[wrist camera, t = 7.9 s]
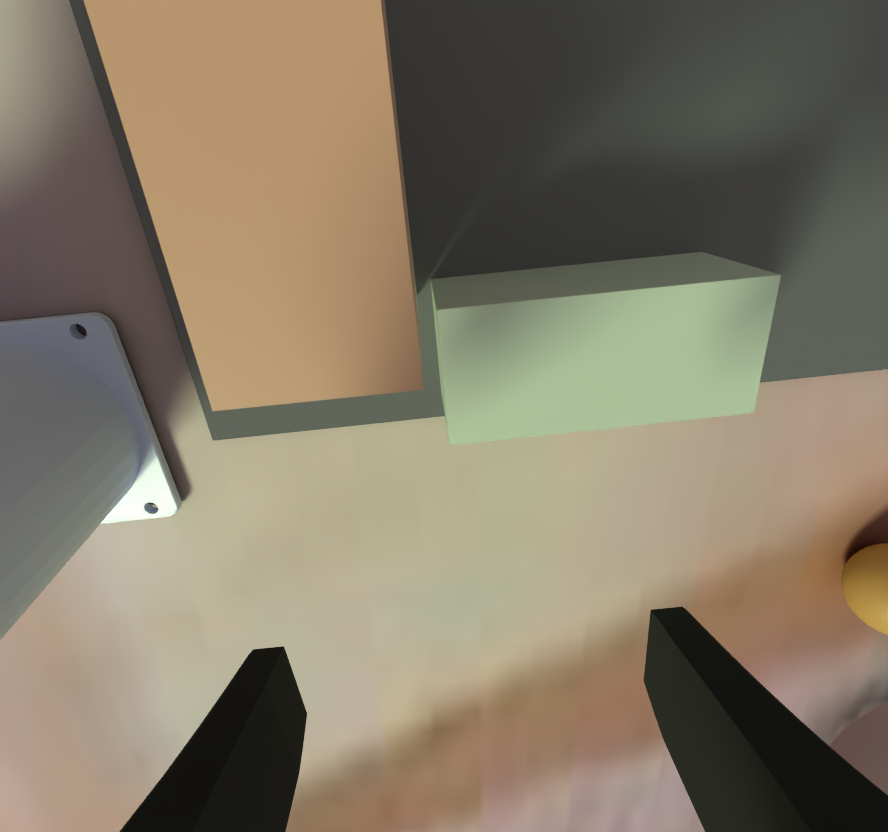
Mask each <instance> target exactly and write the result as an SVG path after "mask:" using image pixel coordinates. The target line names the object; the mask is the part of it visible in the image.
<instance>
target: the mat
mask: <svg viewBox="0 0 888 832" xmlns="http://www.w3.org/2000/svg"><path fill="white" fill-rule="evenodd" d="M69 1H70V4H71V7H72V10H73V13H74V16H75V19H76V23H77V26H78V29H79V32H80V35H81V38H82V41H83V44H84V47H85V50H86V53H87V56H88V59H89V62H90V65H91V68H92V72H93V75H94V78H95V81H96V84H97V87H98V90H99V93H100V96H101V99H102V102H103V105H104V108H105V111H106V114H107V117H108V121H109V124H110V127H111V130H112V133H113V136H114V139H115V142H116V145H117V148H118V151H119V154H120V157H121V160H122V163H123V167H124V170H125V173H126V176H127V179H128V182H129V185H130V188H131V191H132V194H133V197H134V200H135V203H136V206H137V209H138V212H139V216H140V219H141V222H142V225H143V228H144V231H145V234H146V237H147V240H148V243H149V246H150V249H151V252H152V255H153V258H154V261H155V265H156V268H157V271H158V274H159V277H160V280H161V283H162V286H163V289H164V292H165V295H166V298H167V301H168V304H169V307H170V310H171V314H172V317H173V320H174V323H175V326H176V329H177V332H178V335H179V338H180V341H181V344H182V347H183V350H184V353H185V356H186V359H187V363H188V366H189V369H190V372H191V375H192V378H193V381H194V384H195V387H196V390H197V393H198V396H199V399H200V402H201V405H202V408H203V412H204V415H205V418H206V421H207V424H208V427H209V430H210V433H211V436H212V439H213V440H222V439H232V438H241V437H251V436H260V435H270V434H279V433H288V432H298V431H307V430H317V429H326V428H336V427H345V426H354V425H364V424H373V423H383V422H392V421H402V420H411V419H420V418H430V417H439V416H445V412H444V406H443V399H442V392H441V383H440V372H439V362H438V352H437V341H436V331H435V321H434V310H433V300H432V290H431V279H437V278H447V277H457V276H467V275H477V274H487V273H497V272H507V271H517V270H527V269H536V268H546V267H556V266H566V265H576V264H586V263H596V262H606V261H616V260H626V259H636V258H646V257H655V256H665V255H675V254H685V253H695V252H704V253H708V254H711V255H715V256H718V257H722V258H725V259H728V260H732V261H735V262H739V263H742V264H746V265H749V266H753V267H756V268H759V269H763V270H766V271H770V272H773V273H777V274H780V275H781V278H780V283H779V288H778V293H777V298H776V303H775V308H774V313H773V318H772V323H771V328H770V333H769V338H768V343H767V348H766V353H765V358H764V363H763V368H762V373H761V378H760V382H769V381H779V380H788V379H798V378H807V377H817V376H826V375H835V374H845V373H854V372H864V371H873V370H883V369H888V0H384V1H385V10H386V19H387V28H388V37H389V47H390V56H391V65H392V74H393V83H394V92H395V101H396V110H397V119H398V128H399V138H400V147H401V156H402V165H403V174H404V183H405V192H406V201H407V210H408V219H409V229H410V238H411V247H412V256H413V265H414V274H415V283H416V292H417V304H418V318H419V334H420V348H421V362H422V376H423V390H417V391H407V392H398V393H388V394H378V395H368V396H358V397H348V398H339V399H329V400H319V401H309V402H299V403H290V404H280V405H270V406H260V407H250V408H240V409H231V410H221V411H212V408H211V405H210V402H209V399H208V395H207V392H206V389H205V386H204V383H203V379H202V376H201V373H200V370H199V367H198V364H197V360H196V357H195V354H194V351H193V348H192V344H191V341H190V338H189V335H188V332H187V328H186V325H185V322H184V319H183V316H182V313H181V309H180V306H179V303H178V300H177V297H176V293H175V290H174V287H173V284H172V281H171V277H170V274H169V271H168V268H167V265H166V262H165V258H164V255H163V252H162V249H161V246H160V242H159V239H158V236H157V233H156V230H155V226H154V223H153V220H152V217H151V214H150V211H149V207H148V204H147V201H146V198H145V195H144V191H143V188H142V185H141V182H140V179H139V175H138V172H137V169H136V166H135V163H134V160H133V156H132V153H131V150H130V147H129V144H128V140H127V137H126V134H125V131H124V128H123V124H122V121H121V118H120V115H119V112H118V109H117V105H116V102H115V99H114V96H113V93H112V89H111V86H110V83H109V80H108V77H107V73H106V70H105V67H104V64H103V61H102V58H101V54H100V51H99V48H98V45H97V42H96V38H95V35H94V32H93V29H92V26H91V22H90V19H89V16H88V13H87V10H86V7H85V3H84V0H69Z"/></svg>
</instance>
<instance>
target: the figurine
mask: <svg viewBox="0 0 888 832" xmlns="http://www.w3.org/2000/svg"><path fill="white" fill-rule="evenodd" d="M841 586H842V591H843V594H844V597H845V599H846V601H847V603H848V605H849V606H850V608H851V609H852V610H853V612H854V613H855V614H856V615H857V616H858V617H859V618H860V619H861V620H862V621H864V622H865V623H866V624H868V625H869V626H870V627H872V628H874V629H876V630H877V631H879V632H882V633H884V634H886V635H888V543H881V544H875V545H871V546H868V547H866V548H863V549H861V550H860V551H858V552H856V553H855V554H854V555H853V556H852V557H851V558H850V559H849V560H848V561H847V563H846V565H845V566H844V569H843V572H842V577H841Z"/></svg>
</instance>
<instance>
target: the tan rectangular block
mask: <svg viewBox="0 0 888 832" xmlns="http://www.w3.org/2000/svg"><path fill="white" fill-rule="evenodd" d="M84 3H85V7H86V10H87V13H88V16H89V19H90V22H91V26H92V29H93V32H94V35H95V38H96V42H97V45H98V48H99V51H100V54H101V58H102V61H103V64H104V67H105V70H106V73H107V77H108V80H109V83H110V86H111V89H112V93H113V96H114V99H115V102H116V105H117V109H118V112H119V115H120V118H121V121H122V124H123V128H124V131H125V134H126V137H127V140H128V144H129V147H130V150H131V153H132V156H133V160H134V163H135V166H136V169H137V172H138V175H139V179H140V182H141V185H142V188H143V191H144V195H145V198H146V201H147V204H148V207H149V211H150V214H151V217H152V220H153V223H154V226H155V230H156V233H157V236H158V239H159V242H160V246H161V249H162V252H163V255H164V258H165V262H166V265H167V268H168V271H169V274H170V277H171V281H172V284H173V287H174V290H175V293H176V297H177V300H178V303H179V306H180V309H181V313H182V316H183V319H184V322H185V325H186V328H187V332H188V335H189V338H190V341H191V344H192V348H193V351H194V354H195V357H196V360H197V364H198V367H199V370H200V373H201V376H202V379H203V383H204V386H205V389H206V392H207V395H208V399H209V402H210V405H211V408H212V411H221V410H231V409H240V408H250V407H260V406H270V405H280V404H290V403H299V402H309V401H319V400H329V399H339V398H348V397H358V396H368V395H378V394H388V393H398V392H407V391H417V390H423V376H422V362H421V348H420V334H419V323H418V314H417V305H416V295H415V286H414V277H413V268H412V258H411V249H410V240H409V230H408V221H407V212H406V202H405V193H404V184H403V175H402V165H401V156H400V147H399V137H398V128H397V119H396V109H395V100H394V91H393V81H392V72H391V63H390V54H389V44H388V35H387V26H386V16H385V7H384V0H84Z"/></svg>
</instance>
